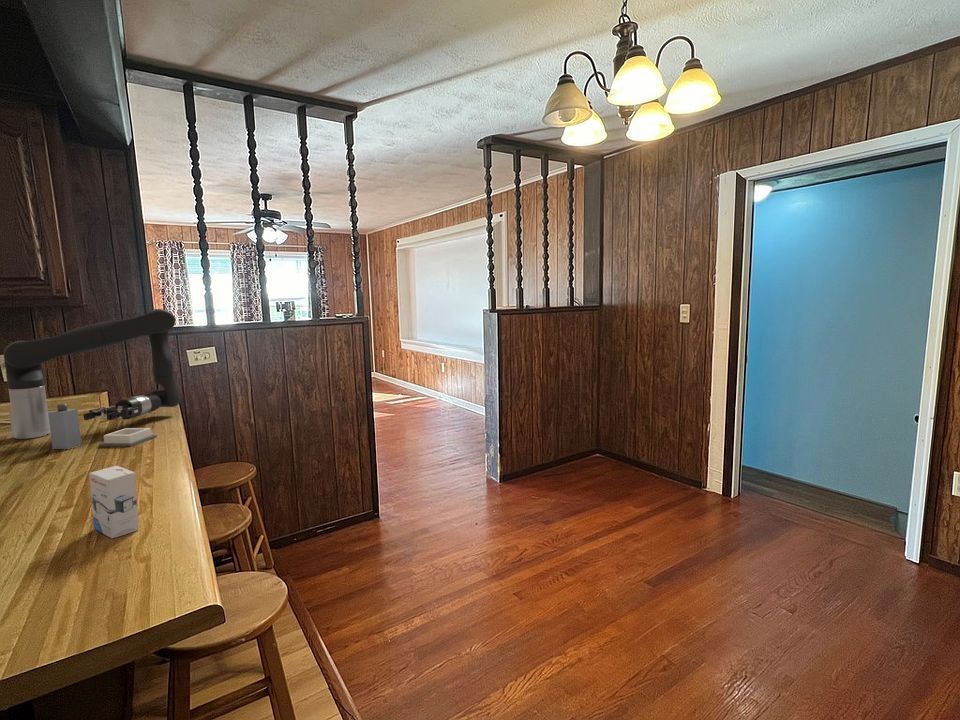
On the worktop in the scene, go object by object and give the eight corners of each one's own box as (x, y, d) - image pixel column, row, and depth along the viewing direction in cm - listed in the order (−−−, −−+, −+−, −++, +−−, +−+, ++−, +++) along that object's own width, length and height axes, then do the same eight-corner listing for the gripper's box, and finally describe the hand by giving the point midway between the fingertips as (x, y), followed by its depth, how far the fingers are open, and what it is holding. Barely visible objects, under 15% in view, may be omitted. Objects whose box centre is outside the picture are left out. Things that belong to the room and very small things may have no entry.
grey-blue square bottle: (52, 449, 153) (47, 406, 152) (67, 445, 158) (62, 402, 157) (67, 449, 153) (61, 406, 151) (81, 445, 158) (76, 402, 156)
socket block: (99, 446, 156) (97, 436, 156) (126, 436, 167) (125, 427, 167) (131, 446, 155) (130, 436, 155) (156, 436, 166) (155, 427, 166)
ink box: (93, 529, 98) (86, 472, 96) (122, 519, 102) (116, 465, 100) (112, 539, 93) (105, 480, 92) (142, 529, 97) (135, 472, 96)
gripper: (114, 397, 182) (75, 406, 166) (150, 397, 181) (114, 406, 165) (117, 416, 183) (78, 428, 167) (152, 416, 182) (116, 428, 166)
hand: (96, 417), depth 166 cm, fingers open, 8 cm apart
